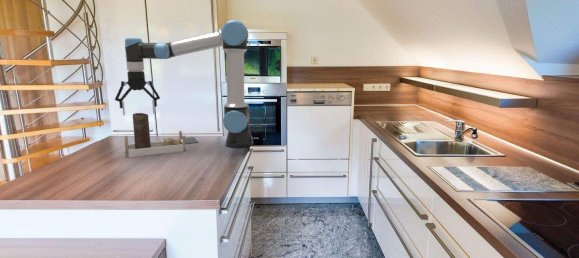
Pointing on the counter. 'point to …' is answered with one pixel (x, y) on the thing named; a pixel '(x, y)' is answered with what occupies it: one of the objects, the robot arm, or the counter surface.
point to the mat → (190, 140)
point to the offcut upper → (171, 141)
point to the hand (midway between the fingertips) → (139, 114)
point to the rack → (154, 148)
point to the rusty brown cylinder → (141, 131)
